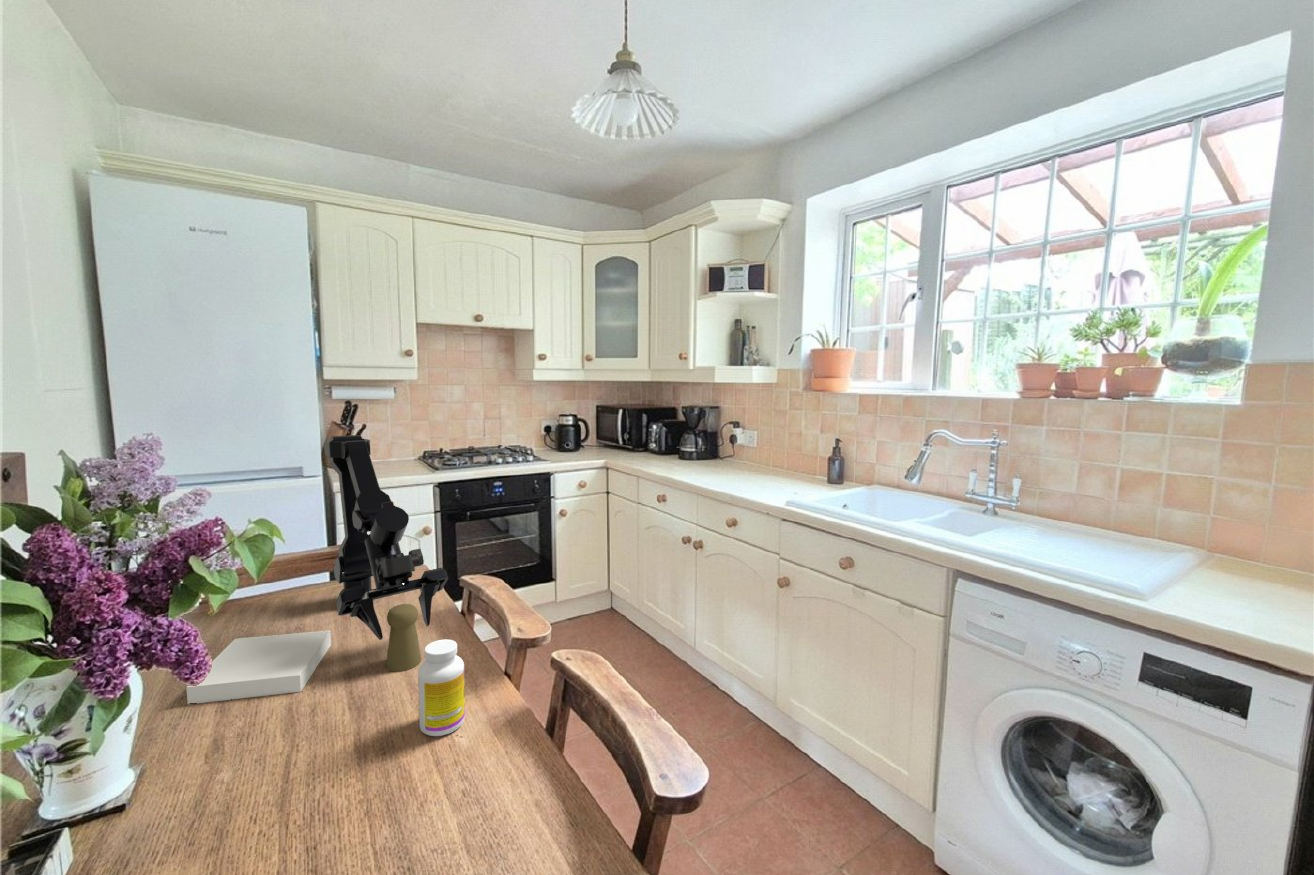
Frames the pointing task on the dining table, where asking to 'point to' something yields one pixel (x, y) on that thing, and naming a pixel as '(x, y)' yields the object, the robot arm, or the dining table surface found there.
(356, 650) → the dining table surface
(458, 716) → the supplement bottle
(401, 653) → the cork
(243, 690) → the base block
